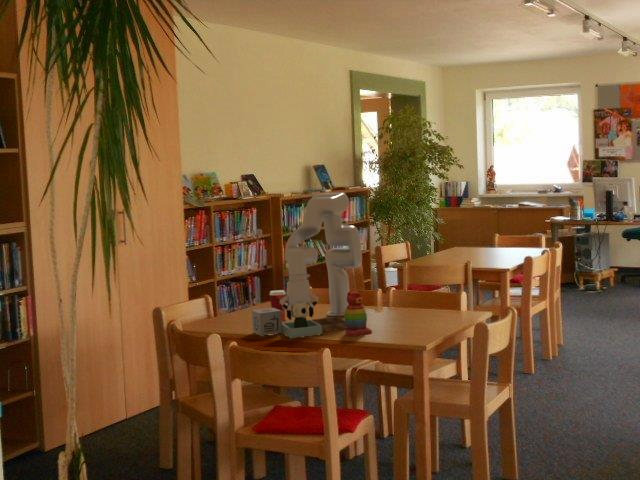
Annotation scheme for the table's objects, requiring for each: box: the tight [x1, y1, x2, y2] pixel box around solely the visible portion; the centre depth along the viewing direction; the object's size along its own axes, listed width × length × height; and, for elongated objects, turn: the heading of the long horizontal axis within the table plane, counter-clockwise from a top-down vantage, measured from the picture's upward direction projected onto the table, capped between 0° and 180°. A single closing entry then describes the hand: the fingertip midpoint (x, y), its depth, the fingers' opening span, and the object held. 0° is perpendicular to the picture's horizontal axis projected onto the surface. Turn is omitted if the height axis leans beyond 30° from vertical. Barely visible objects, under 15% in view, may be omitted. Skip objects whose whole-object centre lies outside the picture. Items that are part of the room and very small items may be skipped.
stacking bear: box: [344, 290, 373, 337], centre depth 368 cm, size 11×10×18 cm
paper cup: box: [268, 289, 287, 322], centre depth 408 cm, size 8×8×14 cm
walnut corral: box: [312, 316, 347, 332], centre depth 386 cm, size 13×17×2 cm
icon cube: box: [251, 307, 283, 337], centre depth 379 cm, size 10×10×10 cm
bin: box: [282, 319, 323, 339], centre depth 375 cm, size 14×16×4 cm
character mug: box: [290, 302, 309, 328], centre depth 374 cm, size 11×7×13 cm, turn 154°
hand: (300, 317), depth 374 cm, fingers open, 9 cm apart
